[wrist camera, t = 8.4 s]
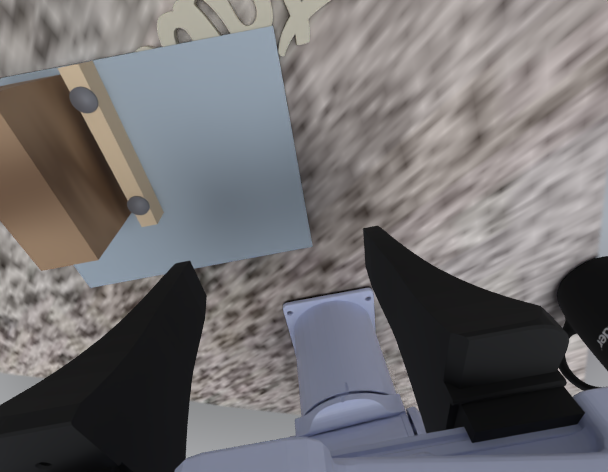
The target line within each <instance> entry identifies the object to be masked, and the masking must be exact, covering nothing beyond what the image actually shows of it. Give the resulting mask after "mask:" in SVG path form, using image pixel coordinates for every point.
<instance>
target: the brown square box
mask: <svg viewBox="0 0 608 472" xmlns="http://www.w3.org/2000/svg"><path fill="white" fill-rule="evenodd" d="M69 94H70V91H69V89H68V87H67V85H66V84H65V82H64V80H63V78H62V76H61V74H60V75H55V76H49V77H44V78H39V79H34V80H29V81H23V82H18V83H13V84H8V85H4V86H0V221H1V222H2V223H3V225H4V226H5V227H6V228H7V229H8V231H9V232H10V233H11V234H12V236H13V237H14V238H15V239H16V240H17V242H18V243H19V244H20V245H21V247H22V248H23V249H24V250H25V251H26V253H27V254H28V255H29V256H30V258H31V259H32V260H33V261H34V262H35V264H36V265H37V266H38V267H39V269H40V270H41V271H43V270H48V269H54V268H59V267H64V266H70V265H75V264H80V263H86V262H91V261H96V260H99V259H100V257H101V256H102V254H103V253H104V252H105V250H106V249H107V247H108V246H109V244H110V243H111V242H112V240H113V239H114V237H115V236H116V234H117V233H118V232H119V230H120V229H121V227H122V226H123V224H124V223H125V221H126V220H127V219H128V217H129V216H130V214H131V213H132V212H130V210H129V209H128V207H127V202H128V200H127V198H126V196H125V195H124V193H123V191H122V189H121V187H120V185H119V183H118V181H117V179H116V178H115V176H114V174H113V172H112V170H111V168H110V166H109V164H108V163H107V161H106V159H105V157H104V155H103V153H102V151H101V149H100V148H99V146H98V144H97V142H96V140H95V138H94V136H93V134H92V132H91V131H90V129H89V127H88V125H87V123H86V121H85V119H84V117H83V116H82V114H81V112H80V111H78V110H77V109H76V108H75V107H74V106H73V105H72V104H71V102H70V98H69Z"/></svg>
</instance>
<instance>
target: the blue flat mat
mask: <svg viewBox="0 0 608 472" xmlns="http://www.w3.org/2000/svg"><path fill="white" fill-rule="evenodd" d="M60 74H61V76H62V78H63V80H64V82H65V84H66V85H67V87H68V89H69V91H70V94H69V98H70V102H71V104H72V105H73V106H74V107H75V108H76V109H77V110H78V111H80V112H81V114H82V116H83V117H84V119H85V121H86V123H87V125H88V127H89V129H90V131H91V132H92V134H93V136H94V138H95V140H96V142H97V144H98V146H99V148H100V149H101V151H102V153H103V155H104V157H105V159H106V161H107V163H108V164H109V166H110V168H111V170H112V172H113V174H114V176H115V178H116V179H117V181H118V183H119V185H120V187H121V189H122V191H123V193H124V195H125V196H126V198H127V200H128V202H127V207H128V209H129V210H130V212H132V213H131V214H130V216H129V217H128V219H127V220H126V221H125V223H124V224H123V226H122V227H121V229H120V230H119V232H118V233H117V234H116V236H115V237H114V239H113V240H112V242H111V243H110V244H109V246H108V247H107V249H106V250H105V252H104V253H103V254H102V256H101V257H100V259H99V260H96V261H91V262H86V263H80V264H75V265H74V266H75V268H76V269H77V270H78V272H79V273H80V274H81V276H82V277H83V279H84V280H85V281H86V283H87V284H88V285H89V287H90V288H92V287H98V286H103V285H108V284H114V283H119V282H124V281H130V280H135V279H141V278H146V277H151V276H157V275H162V274H166V273H167V272H168V271H169V269H170V268H171V267H172V266H173V265H174V264H175V263H180V262H185V261H191V264H192V266H193V268H200V267H205V266H211V265H216V264H221V263H227V262H232V261H238V260H243V259H248V258H254V257H259V256H265V255H270V254H275V253H281V252H286V251H291V250H297V249H302V248H308V247H313V246H312V240H311V235H310V229H309V224H308V218H307V213H306V207H305V201H304V196H303V190H302V185H301V179H300V174H299V168H298V162H297V157H296V151H295V146H294V140H293V134H292V129H291V123H290V118H289V112H288V107H287V101H286V95H285V90H284V84H283V79H282V73H281V68H280V62H279V56H278V51H277V45H276V40H275V34H274V29H273V25H272V26H269V27H263V28H258V29H253V30H248V31H243V32H238V33H232V34H226V35H221V36H217V37H212V38H206V39H201V40H196V41H190V42H185V43H179V44H175V45H170V46H165V47H159V48H154V49H150V50H144V51H139V52H133V53H128V54H123V55H117V56H112V57H107V58H102V59H97V60H92V61H86V62H81V63H76V64H71V65H66V66H60V67H55V68H50V69H45V70H40V71H35V72H29V73H24V74H19V75H14V76H9V77H4V78H0V86H4V85H8V84H13V83H18V82H23V81H29V80H34V79H39V78H44V77H49V76H55V75H60Z"/></svg>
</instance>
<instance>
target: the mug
mask: <svg viewBox="0 0 608 472" xmlns="http://www.w3.org/2000/svg"><path fill="white" fill-rule="evenodd" d="M557 297H558V302H559V305H560V308H561V310H562V312H563V313H564V315H565V318H566V321H565V324H564V326H563V330H564V331H565V332H566V333H567V334H568V338H570V337H571V336H572V335H574V334H578V335H579V336H580V338H581V339H582V340H583V342H584V343H585V344H586V345H587V347H588V348H589V349H590V350H591V352H592V353H593V354H594V355H595V356H596V358H597V359H598V360H599V361H600V362H601V364H602V365H603V366H604V367H605V368H606V369H607V371H608V256H606V257H600V258H596V259H593V260H591V261H588V262H586V263H584V264H582V265H581V266H579V267H577V268H576V269H575V270H573V271H572V272H571V273H570V274H569V275H567V277H566V278H565V279H564V280H563V281H562V283H561V284H560V286H559V289H558V293H557ZM559 369H560V371H561V372H562V374H563V375H564V376H565V377H566V378H567V379H568V380H569V381H570V382H571V383H572V384H574V385H575V386H576V387H578V388H580V389H581V390H583V391H586V390H590V389H596V388H602V387H595V386H591V385H588V384H586V383H584V382H583V381H581V380H580V379H578V378H577V377H576V376H575V375H574V374H573V373H572V371H571V370H570V369H569V367H568V365H567V362H566V358H565V355H564V357H563V359H562V361H561V363H560V365H559Z"/></svg>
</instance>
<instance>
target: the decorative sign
mask: <svg viewBox="0 0 608 472" xmlns="http://www.w3.org/2000/svg"><path fill="white" fill-rule="evenodd" d="M197 1H198V0H177V1H176V2H175V4H174V5H173V11H171V12H167V13H165V14H163V15H161V16H160V17H159V19H158V21H157V32H158V36H159V39H160V43H161V45H162V47H165V46H170V45H175V44H179V42H178V38H177V29H178V28H182V29H184V30H185V31H186V32H187V33H188V34H189V35H190V37H191V38H192V40H193V41H196V40H201V39H206V38H212V37H217V36H221V34H220V33H219V31H218V30H217V29H216V27H215V26H214V25H213V23H212V22H211V21H210V20H209V18H208V17H207V16H206V15H205V14H204V13H203V12H202V10H201V9H200V8H199V7H198V6H197V5H196V2H197ZM204 1H205V2H206V3H207V4H208V5H209V6H210V7H211V8H212V9H213V10H214V11H215V12H216V13H217V15H218V16H219V17H220V18H221V20H222V21H223V23H224V24H225V26H226V27H227V29H228V30H229V32H230V34H232V33H238V32H243V31H248V30H253V29H258V28H263V27H269V26H272V20H273V13H272V6H271V2H270V0H254V3H255V6H256V11H257V16H256V20H255V22H254V23H253V24H252V25H249V26H247V25H244V24H243V23H242V22H241V21H240V20H239V18H238V17H237V15H236V13H235V12H234V10H233V8H232V6H231V4H230V3H229V1H228V0H204ZM283 1H284V3H285V5H286V8H287V10H288V13H289V15H290V17H289V18H288V20H287V22H286V24H285V26H284V28H283V31H282V33H281V36H280V40H279V46H278V54H279V55H280V56H284V55H285V52H286V50H287V47H288V45H289V43H290V41H291V40H292V38H293V36H294V35H295V40H296V45H303V44H306V43H308V42H309V41H310V28H309V21H308V19H309V18H310V17H311V16H312V15H313V14H314V13H315V12H316V11H318V10H319V9H320V8H321V7H322V6H324V5H325V4H326V3H328V2H329V1H330V0H302V1H300V0H283ZM154 48H155V47H153V46H144V47H141V48H139V49H137V50H136V52H139V51H144V50H150V49H154Z"/></svg>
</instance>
